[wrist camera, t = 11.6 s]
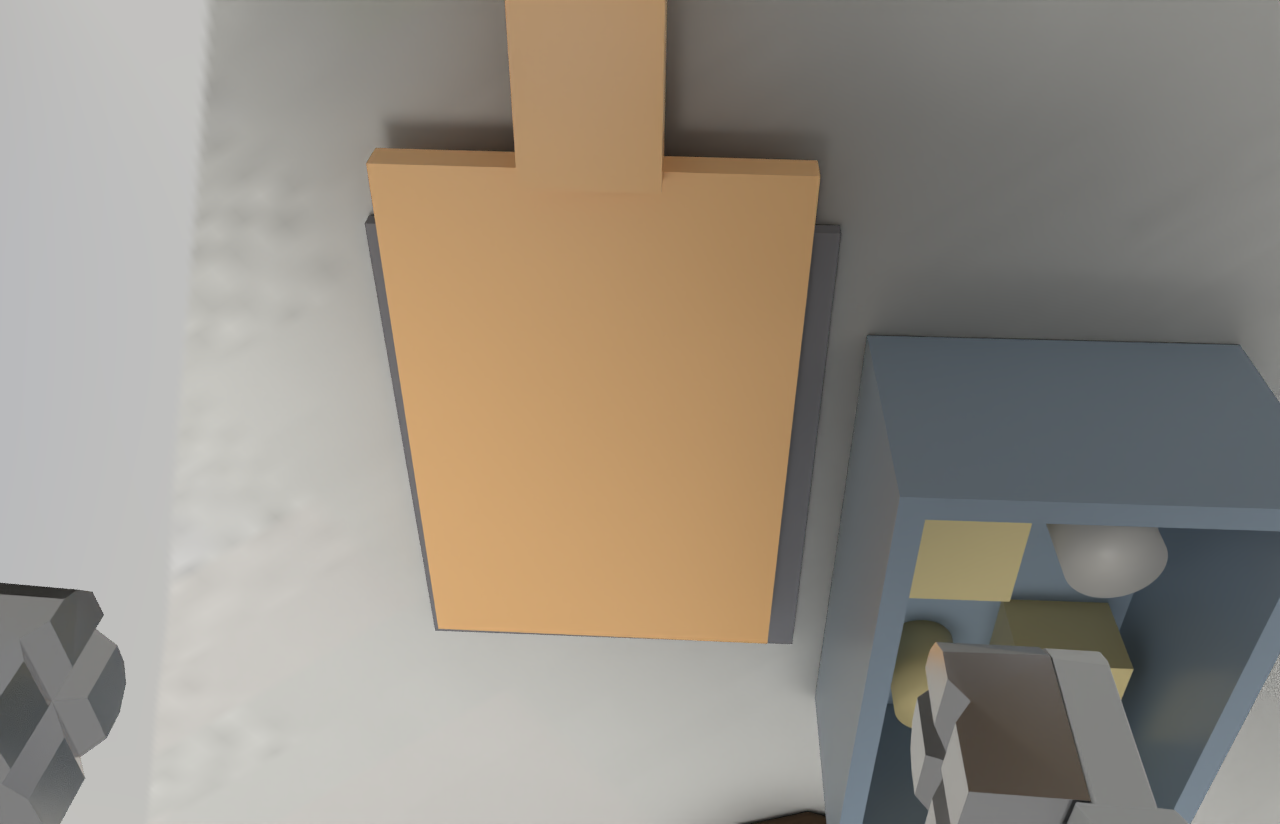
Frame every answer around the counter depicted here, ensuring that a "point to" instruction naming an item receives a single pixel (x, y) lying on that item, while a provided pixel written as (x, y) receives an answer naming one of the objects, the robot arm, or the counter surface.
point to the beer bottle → (798, 819)
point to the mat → (800, 441)
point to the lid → (597, 347)
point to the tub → (1053, 545)
